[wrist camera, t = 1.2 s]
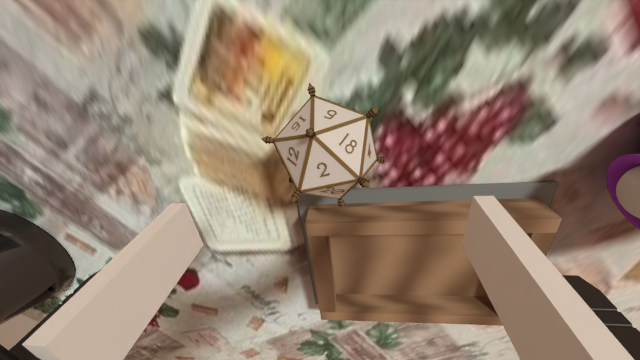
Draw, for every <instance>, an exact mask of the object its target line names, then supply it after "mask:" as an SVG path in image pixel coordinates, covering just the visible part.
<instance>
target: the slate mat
mask: <svg viewBox="0 0 640 360" xmlns="http://www.w3.org/2000/svg"><path fill="white" fill-rule="evenodd" d="M557 186H558V183H557V182H556V181H548V182H521V183H494V184H468V185H441V186H415V187H388V188H361V189H351V190H350V191H349V192H348V193H347V194H346V195H345V196H344V197H343V198H342V200H344V203H345V204H349V203H383V202H416V201H450V200H472V199H473V196H494V197H495V198H496V199H517V198H539V199H540V200H541V201H543V202H544V203H545V204H546V205H547V206H548V207H549V205H550V203H551V201H552V198H553V196H554V193H555V191H556V188H557ZM316 204H338V199H335V198H329V197H322V196H316V195H310V194H303V193H301V195H300V197H299V200H298V206H299V211H300V217H301V223H302V228H303V234H304V239H305V245H306V251H307V256H308V262H309V267H310V273H311V279H312V284H313V290H314V295H315V301H316V304H319V302H318V296H317V290H316V284H315V278H314V272H313V267H312V261H311V255H310V249H309V243H308V237H307V231H306V225H305V223H306V218H307V214H308V210H309V205H316Z"/></svg>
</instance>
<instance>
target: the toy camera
mask: <svg viewBox="0 0 640 360" xmlns="http://www.w3.org/2000/svg"><path fill="white" fill-rule="evenodd" d="M606 181H607V187H608V190H609V193H610V195H611V197H612V199H613V201H614V203H615V204H616V206H617V207H618V209H619V210H620V211H621V213H622V214H623V215H624V216H625V217H626V218H627V219H628V220H629V221H630V222H631V223H632V224H633V225H634V226H636V227H637V228H639V229H640V154H629V155H624V156H621V157H619V158H617V159H615V160H614V161H613V162H612V163H611V164H610V165H609V167H608V170H607V174H606Z"/></svg>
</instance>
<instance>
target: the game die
mask: <svg viewBox="0 0 640 360" xmlns="http://www.w3.org/2000/svg"><path fill="white" fill-rule="evenodd" d="M314 88H315V87H313V86H312V85H311V84H310V83H309V87H308V89H307V90H308V91H309V94H310V96H311V97H310V98H309V100H308V101H307V102H306V103H305V104H304V105H303V106H302V108H301V109H300V110H299V111H298V112H297V113H296V114H295V116H294V117H293V118H292V119H291V120H290V121H289V122H288V124H287V125H286V126H285V127H284V128H283V129H282V130H281V132H280V133H279V134H278V135H277V136H276V137H275V138H274V139H273V138H271V137H268V136H267V137H264V138H261V139H262V140H263V141H264V142H266V143H269V144H270V143H274V145H275V147H276V149H277V151H278V153H279V155H280V157H281V159H282V161H283V163H284V165H285V167H286V169H287V171H288V174H289V176H290V178H289V182H292V183H293V184H294V186H295V188H296V190H297V191H296V192H294V195H292V202H294V201H296V200H299V197H300V195H301V193H303V194H310V195H316V196H322V197H329V198H335V199H338V206H340V207H341V208H343V206H344V204H345V203H344V200H342V198H343V197H344V196H345V195H346V194H347V193H348V192H349V191H350V190H351V189H352V188H353V187H355V186H356V185H357V184H358V183H360V185H362V188H363V187H369V184H368V182H369V181H367V180H366V179H364V178H363V177H364V176H365V175H366V174H367V172H368V171H369V170H370V169H371V168H372V166H373V165H374V164H375V163H376V161H378V162H379V163H382V164H383V163H384V162H386V161H387V160H386V159H385V158H384V157H381V156H380V157H377V154H376V149H375V144H374V139H373V134H372V129H371V124H370V118H371V117H374V116H375V115H377V111H378V108H379V107H378V108H371V110H370V111H368V113H367V114H364V113H361V112H359V111H356V109H350V108H348V107H345V106H342V105H340V104H337V103H334V102H331V101H329V100H326V99H323V98H320V97H318V96H315V92H316V91H315V89H314Z"/></svg>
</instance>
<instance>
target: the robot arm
mask: <svg viewBox="0 0 640 360" xmlns="http://www.w3.org/2000/svg"><path fill="white" fill-rule="evenodd" d="M203 245H204V244H203V242H202V240H201V238H200V235H199V233H198V231H197V229H196V226H195V224H194V222H193V220H192V217H191V215H190V213H189V210H188V208H187V206H186V204H185V203H171V204H170V205H169V206H168V207H167V208H166V209H165V210H164V211H163V212H162V213H161V214H160V215H158V216H157V217H156V218H155V219H154V220H153V221H152V222H151V223H150V224H149V225H148V226H147V227H146V228H145V229H144V230H143V231H142V232H140V233H139V234H138V235H137V236H136V237H135V238H134V239H133V240H132V241H131V242H130V243H129V244H128V245H127V246H126V247H125V248H124V249H122V250H121V251H120V252H119V253H118V254H117V255H116V256H115V257H114V258H113V259H112V260H111V261H110V262H109V263H108V264H107V265H105V266H104V267H103V268H102V269H101V270H99V271H98V272H96V273H95V274H93V275H92V276H90V277H89V278H87V279H86V280H85V281H84V282H83V283H82V284H81V285H80V286H78V287H77V288H76V289H75V290H74V293H73V294H70V295H69V296H68V297H67V298H66V299H64V300H63V301H62V304H59V305H58V306H57V307H56V308H55V309H54V310H53V311H52V312H50V313H49V314H48V315H47V316H46V317H45V318H44V319H43V320H42V321H41V322H40V323H39V324H37V325H36V326H35V327H34V328H33V329H32V330H31V331H30V332H29V333H28V334H27V335H26V336H25V337H23V338H22V339H21V340H20V341H19V342H18V343H17V344H16V345H15V346H13V347H12V348H11V349H10V350H9V351H8V350H7V349H5V348H4V347H3V346H2V345H0V360H123V359H124V358H125V356H126V355H127V353H128V352H129V351H130V349H131V348H132V346H133V345H134V343H135V342H136V341H137V339H138V338H139V336H140V335H141V333H142V332H143V331H144V329H145V328H146V326H147V325H148V323H149V322H150V321H151V319H152V318H153V316H154V315H155V313H156V312H157V311H158V309H159V308H160V306H161V305H162V304H163V302H164V301H165V299H166V298H167V296H168V295H169V294H170V292H171V291H172V289H173V288H174V286H175V285H176V284H177V282H178V281H179V279H180V278H181V276H182V275H183V274H184V272H185V271H186V269H187V268H188V266H189V265H190V264H191V262H192V261H193V259H194V258H195V256H196V255H197V254H198V252H199V251H200V249H201V248H202V246H203ZM462 246H463V248H464V250H465V252H466V254H467V256H468V258H469V260H470V262H471V264H472V266H473V268H474V270H475V271H476V273H477V275H478V277H479V279H480V281H481V283H482V285H483V287H484V289H485V291H486V293H487V295H488V297H489V299H490V301H491V303H492V305H493V307H494V309H495V311H496V312H497V314H498V316H499V318H500V320H501V322H502V324H503V326H504V328H505V330H506V332H507V334H508V336H509V338H510V340H511V342H512V344H513V346H514V348H515V350H516V351H517V353H518V355H519V357H520V359H521V360H640V332H639V331H638V330H637V329H636V328H633V327H632V324H631V323H630V321H629V320H628V319H627V318H626V317H625V316H624V315H623V314H622V313H621V312H618V311H617V308H616V307H615V306H614V305H613V304H612V303H611V302H610V301H609V300H608V298H607V297H606V296H605V295H604V294H603V293H602V292H601V291H600V290H598V289H597V288H595V287H594V286H592V285H591V284H590V283H588V282H587V281H585V280H584V279H582V278H581V277H579V276H571V275H561V274H560V273H559V271H558V270H557V269H556V268H555V267H554V266H553V264H552V263H551V262H550V261H549V260H548V259H547V257H546V256H545V255H544V254H543V253H542V252H541V250H540V249H539V248H538V247H537V246H536V245H535V243H534V242H533V241H532V240H531V239H530V238H529V236H528V235H527V234H526V233H525V232H524V231H523V230H522V228H521V227H520V226H519V225H518V224H517V223H516V221H515V220H514V219H513V218H512V217H511V216H510V214H509V213H508V212H507V211H506V210H505V209H504V207H503V206H502V205H501V204H500V203H499V202H498V200H497V199H496V198H495V197H494V196H473V199H472V204H471V208H470V213H469V217H468V221H467V226H466V230H465V235H464V239H463V243H462ZM74 275H75V269H74V265H73V262H72V260H71V258H70V256H69V255H68V254H67V252H66V251H65V250H64V249H63V247H62V246H61V245H60V244H59V243H58V242H57V241H56V240H55V239H53V238H52V237H51V236H50V235H49V234H47V233H46V232H45V231H43V230H42V229H40V228H39V227H37V226H36V225H34V224H32V223H30V222H29V221H27V220H25V219H23V218H21V217H19V216H16V215H14V214H11V213H9V212H6V211H2V210H0V324H2V323H4V322H6V321H8V320H10V319H12V318H13V317H15V316H17V315H19V314H21V313H23V312H24V311H26V310H28V309H30V308H32V307H34V306H35V305H37V304H39V303H41V302H43V301H45V300H47V299H48V298H50V297H52V296H54V295H55V294H57V293H58V292H59V291H60V290H61V289H63V288H64V287H65V286H66V285H67V284H68V283H69V282H70V281H71V280H72V279H73V278H74Z"/></svg>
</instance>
